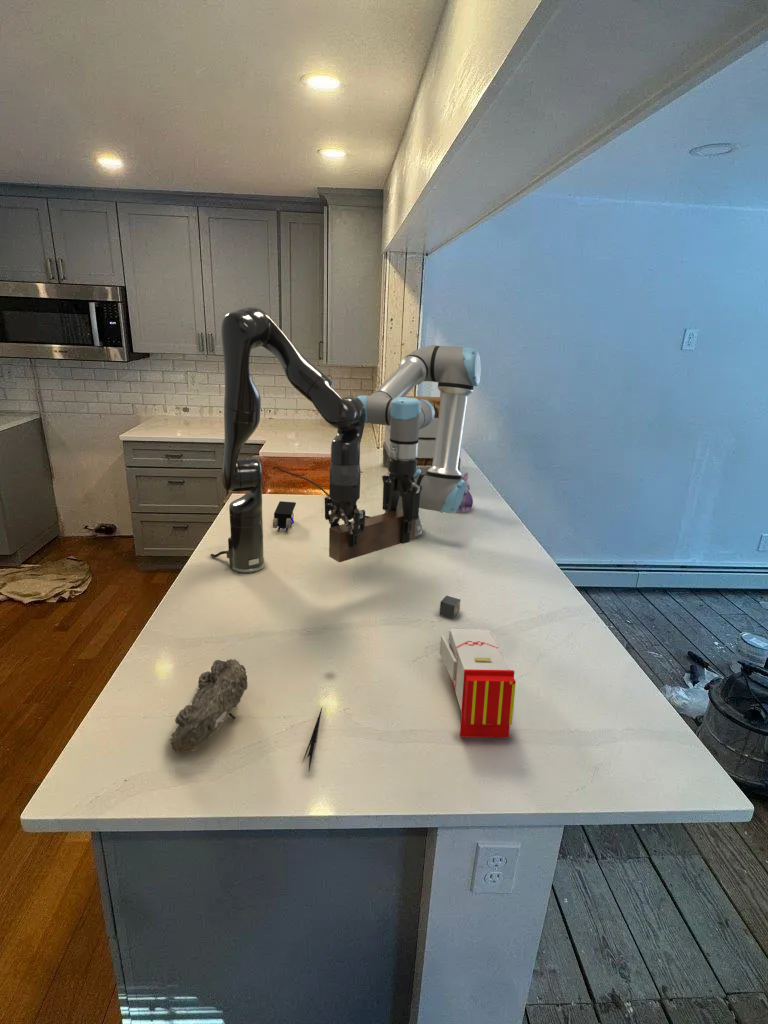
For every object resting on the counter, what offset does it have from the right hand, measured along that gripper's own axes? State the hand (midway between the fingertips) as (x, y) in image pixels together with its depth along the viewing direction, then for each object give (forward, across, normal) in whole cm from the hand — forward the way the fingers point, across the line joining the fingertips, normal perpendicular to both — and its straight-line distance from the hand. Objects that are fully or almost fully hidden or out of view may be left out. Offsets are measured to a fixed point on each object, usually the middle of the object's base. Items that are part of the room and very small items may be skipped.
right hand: (398, 539), depth 157 cm
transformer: (+15, -82, +88) cm, 121 cm away
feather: (+14, +33, -49) cm, 61 cm away
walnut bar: (0, 0, -9) cm, 9 cm away
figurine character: (+15, -57, -2) cm, 59 cm away
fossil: (+14, +20, -64) cm, 69 cm away
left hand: (-4, 0, -19) cm, 19 cm away
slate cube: (+15, +20, +1) cm, 25 cm away
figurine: (+15, -34, +66) cm, 76 cm away
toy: (+15, +45, -19) cm, 51 cm away
